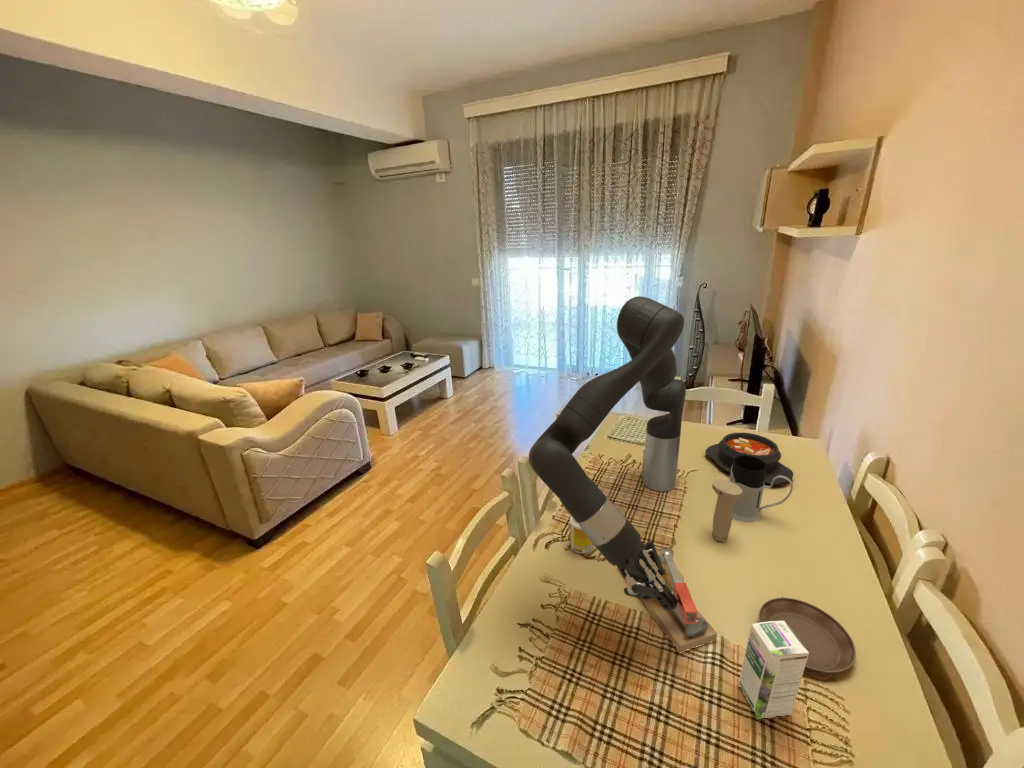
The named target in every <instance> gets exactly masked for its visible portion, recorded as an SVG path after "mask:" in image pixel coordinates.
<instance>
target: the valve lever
mask: <svg viewBox="0 0 1024 768" xmlns="http://www.w3.org/2000/svg"><path fill="white" fill-rule="evenodd" d="M658 553H659V554H658V556H659V559H660V561H661V563H662V564H664V566H665V568H666V571H667V574H668V576H669V579H670V582H671V584H672V587H673V594H674V596H675V598H676V599H677V607H678V609H679V612H680V615H681V617H682V620H683V623H684V624H696V620H697V613H698V611H699V610H698V609H697V607H696V604H695V602H694V600H693V597H692V594H691V593H690V590H689V588H688V585H687V582H684V583H683V582H682V579H681V577H680V574H679V572H680V571H679V569H678V567H677V565H676V563H675V560H674V555H675V554H674V550H673V549H672V548H671V547H668V546H662V547H660V549H659V552H658ZM678 571H679V572H678ZM697 610H698V611H697Z"/></svg>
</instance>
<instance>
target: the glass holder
mask: <svg viewBox="0 0 1024 768" xmlns="http://www.w3.org/2000/svg"><path fill="white" fill-rule="evenodd" d="M766 468H767V465H766V463H765V462H764V461H763V460H761V459H759V458H756V457H753V456H748V455H740V456H736V457H735V458H734V459H733V465H732V467H731V473H730V475H729V480H728V481H730V482H732V483H734V484H736V485H738V486H739V487H740V488H741V489H742V490H743V491H742V496H741V497H740V498H738V499H734V500H733V510H732V519H734V520H736V521H738V522H743V523H753V522H757V521H758V520H760V518H761V511H762V510H763V509H766V508H771V507H775V506H777V505H780V504H781V505H782V503H784V502H786V501H787V500H788V498H789V497H790V496H791V494H792V491H793V485H794V484H793V482H792V479H789V478H787V477H785V476H776V477H774V478H773V480H772V482H771V484H770V485H765V482H764V479H765V473H766ZM777 478H784V479H786V480H788V481H787V482H789V484H790V490H789V492H788V493H787V495H786V496H785V497H784V498H783V499H781V500H780V501H778V502H774V503H771V504H767V505H764V506H761V505H762V499H763V498H762V497H763V493H764V488H765V489H771V488H772V487H773V485H774V484H773V482H774V480H775V479H777Z"/></svg>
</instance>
